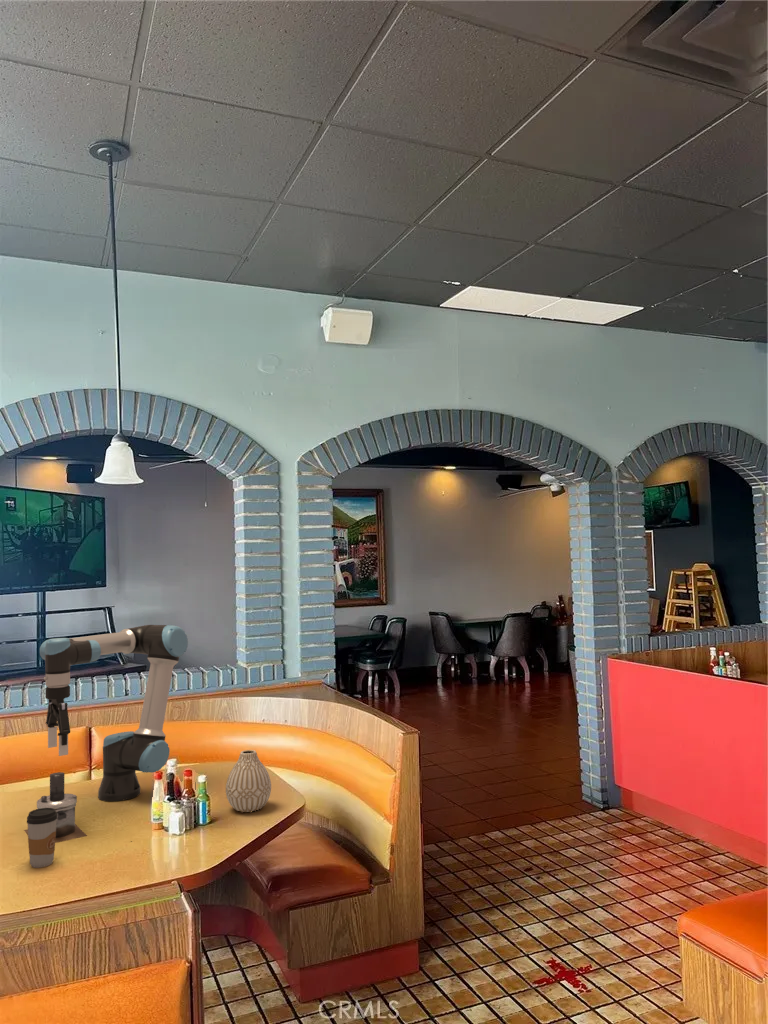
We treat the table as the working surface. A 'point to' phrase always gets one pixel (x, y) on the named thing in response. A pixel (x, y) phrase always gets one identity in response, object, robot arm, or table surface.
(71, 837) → the walnut board
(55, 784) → the lid
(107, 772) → the robot arm
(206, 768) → the table surface
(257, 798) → the vase
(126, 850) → the table surface
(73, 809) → the cooker pot
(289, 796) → the table surface
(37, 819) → the coffee cup
